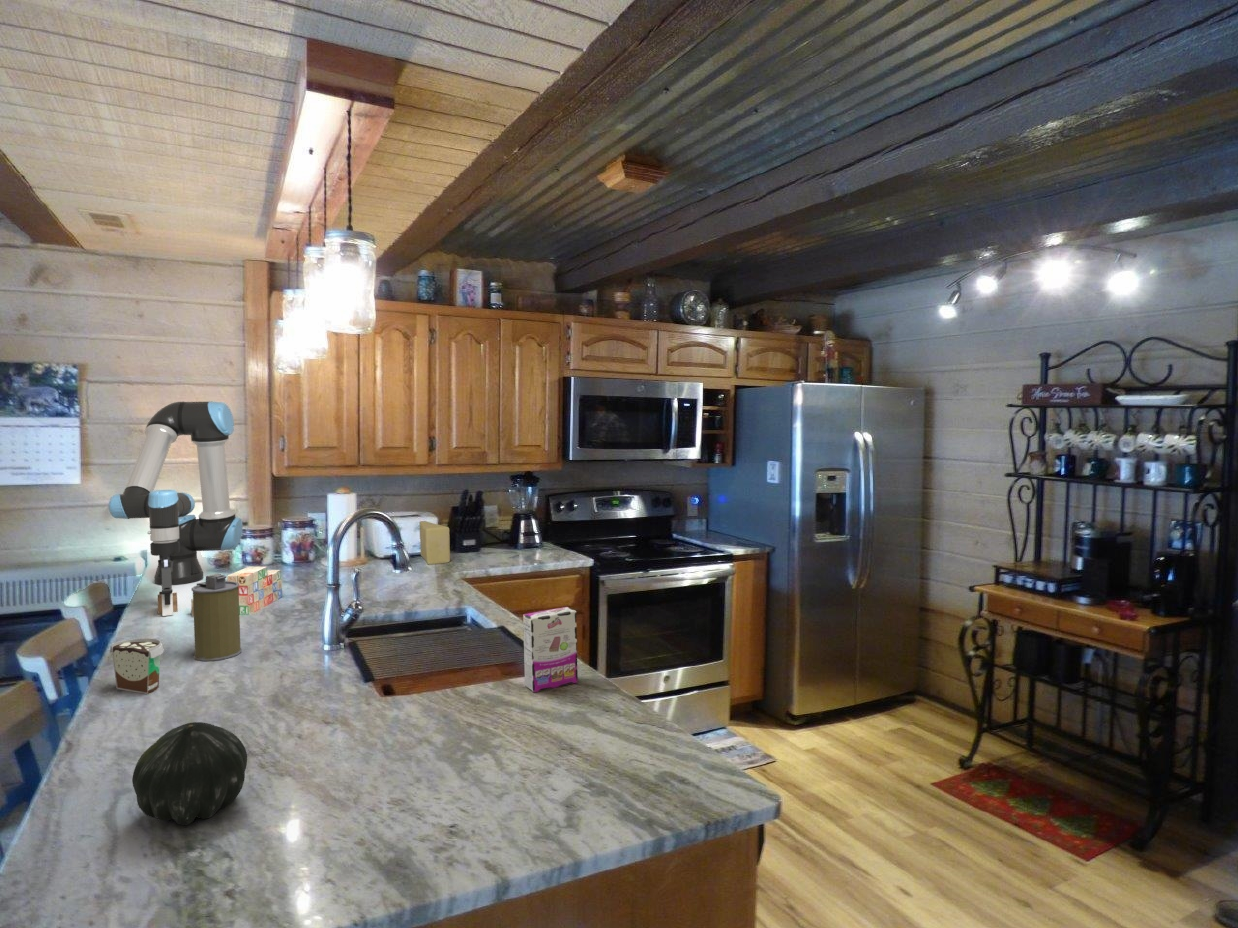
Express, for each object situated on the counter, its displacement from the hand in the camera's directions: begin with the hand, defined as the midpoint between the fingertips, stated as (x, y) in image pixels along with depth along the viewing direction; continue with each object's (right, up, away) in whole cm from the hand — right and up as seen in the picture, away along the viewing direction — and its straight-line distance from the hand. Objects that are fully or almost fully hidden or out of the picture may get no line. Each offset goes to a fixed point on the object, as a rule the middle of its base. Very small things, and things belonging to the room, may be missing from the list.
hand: (167, 610), depth 222 cm
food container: (+33, -5, -61) cm, 70 cm away
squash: (+73, -8, -112) cm, 134 cm away
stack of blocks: (+24, 0, +6) cm, 25 cm away
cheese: (+59, +5, +80) cm, 100 cm away
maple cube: (+13, -1, -4) cm, 14 cm away
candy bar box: (+123, -5, -60) cm, 137 cm away
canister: (+37, -3, -40) cm, 55 cm away
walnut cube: (0, 0, 0) cm, 0 cm away
